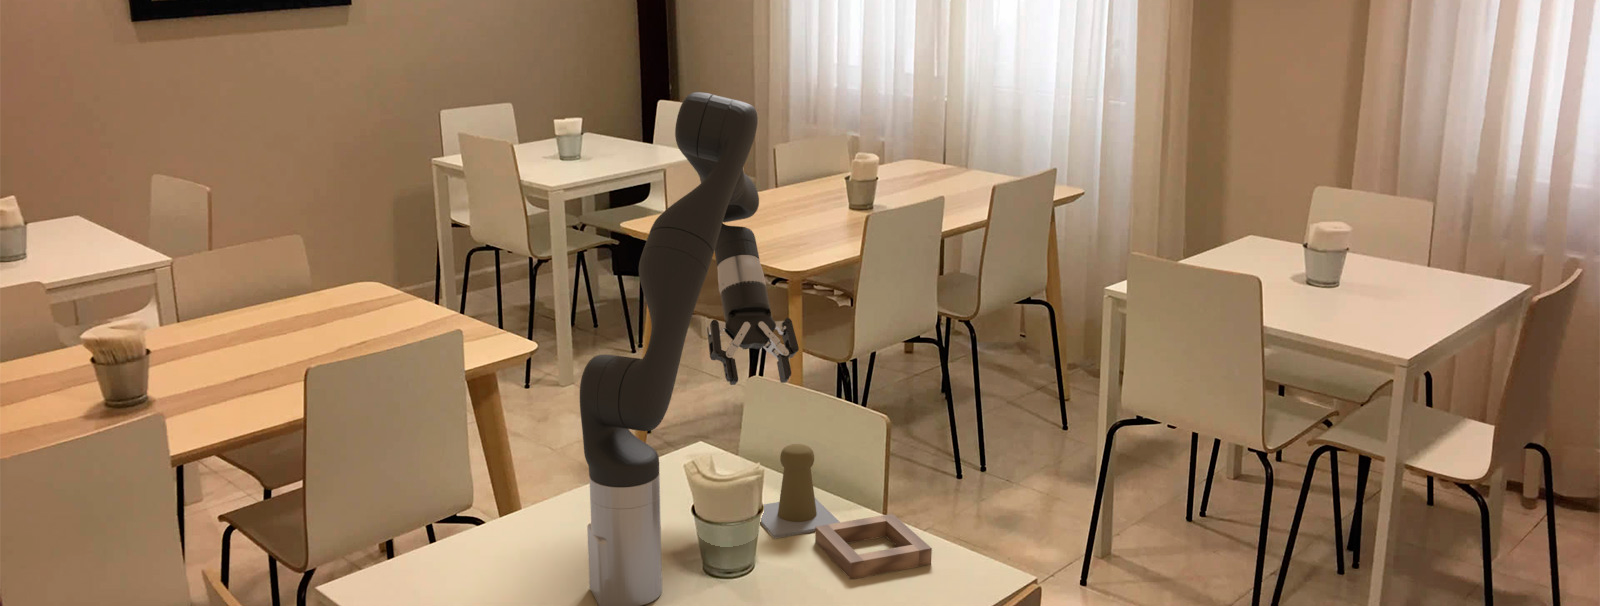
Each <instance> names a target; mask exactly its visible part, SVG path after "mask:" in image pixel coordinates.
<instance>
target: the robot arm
mask: <svg viewBox="0 0 1600 606" xmlns="http://www.w3.org/2000/svg"><path fill="white" fill-rule="evenodd" d="M677 113H678V114H677V117H676V121H675V129H674V130H675V131H674V136H675V143H676V146H677V147H678V150H679V151H680V152H681V154H682V155H683V156H684V157H685V158H686V160H687V161H688V163H689V164H690V165H691V166H692V168H693V169H694V170H695V171H696V173H697V174H698V177H699V180H700V184H698V185H697V186H696V187H695V188H693V190H691V191H690V192H688V193H687V194H685V195H684V196H682V197H681V198H679V199H678V200H677V201H676V202H674V203H673V204H671V205H670V206H669V207H668V208H666V209H665V210H664V211H663V212H662V213H661V214H660V215H659V216H658V217H657V218H656V219H655V220H654V222H653V224H652V226H651V228H650V231H649V233H648V235H647V239H646V242H645V245H644V247H643V250H642V252H641V255H640V259H639V263H638V276H639V281H640V286H641V288H642V289H641V290H642V293H643V296H644V299H645V302H646V305H647V309H648V313H649V316H650V323H651V324H650V326H651V329H650V330H651V331H650V337H649V341H648V346H647V349H646V352H645V354H644V356H643V357H642V358H638V357H630V356H622V355H614V354H607V353H606V354H598V355H596V356H593V357H592V358H591V359H590V360H588V363H586V366H585V367H584V370H583V372H582V375H581V378H580V383H579V384H580V385H579V411H580V420H581V430H582V431H581V432H582V442H583V452H584V458H585V461H586V463H587V465H588V476H589V497H590V499H589V500H590V502H589V504H590V523H588V524H587V526H586V527H587V548H588V549H587V550H588V551H587V553H588V554H587V555H588V575H589V577H588V578H589V581H588V582H589V589H590V591H591V593H592V595H593V596H594V599H595V601H596V603H597V605H598V606H644V605H648V604H650V603H652V602H654V601H655V600H657V599H658V598H659V597H660V596H661V594H662V590H663V573H662V571H663V569H662V530H661V529H662V527H661V526H662V525H661V524H662V523H661V520H662V519H661V486H660V485H661V479H660V474H661V473H660V459H659V458H660V457H659V454H658V452H657V450H655V448H654V447H652V445H649V444H648V443H646V442H644V441H643V440H641V438H638V436H636V435H635V434H633V433H632V432H631V430H632V431H640V432H651V431H653V430H655V429H656V428H657V427H658V426H659V425H661V423H662V421H663V419H664V418H665V416H666V415H667V411H668V408H669V406H670V403H671V400H672V395H673V392H674V389H675V386H676V385H675V384H676V379H677V374H678V370H679V367H680V363H681V358H682V356H683V355H682V354H683V349H684V345H685V342H686V337H687V335H688V330H689V327H690V325H691V321H692V317H693V314H694V311H695V309H696V305H697V302H698V299H699V296H700V294H701V291H702V287H703V285H704V283H705V280H706V277H707V275H708V272H709V269H710V266H711V264H712V260H713V256H715V261H716V268H717V281H718V283H717V284H718V291H719V294H720V300H721V304H722V311H723V317H724V321H725V322H719V321H718V320H717V319H713V320H711V321H710V323H709V325H708V326H707V327H706V331H707V332H706V333H707V341H708V342H707V343H708V348H709V349H708V350H709V358H710V360H712V361H719V362H721V363H722V365H723V369H724V370H723V371H724V372H723V373H724V376H725V379H726V382H729V385H730V386H735V385H736V384H738V381H739V376H738V375H739V374H738V370H737V369H738V368H737V364H736V363H737V362H736V358H734V357H733V356H734V355H735V353H736V352H737V350H738V349H739V348H740V349H741V348H742V350H748V349H749V350H750V349H755V350H761V349H762V348H763V349H764V350H765V351H766V352H767V353H769V354H771V355H773V357H774V358H775V359H776V360H777V361H776V364H777V365H776V366H777V370H778V376H779V381H780V383H781V384H784V383H785V384H786V383H787V382H788V380H789V379H790V377H791V376H792V368H791V364H790V359H791V358H793V357H794V356H795V355H796V353H798V352H799V350H800V349H799V348H800V347H799V345H798V340H797V336H796V333H795V328H794V325H793V322H792V321H793V320H792V319H791V318H790V317H787V318H785V319H784V320H777V321H776V320H774V319H773V317H772V310H771V304H770V300H769V295H768V289H767V283H766V279H765V274H764V270H763V267H762V264H761V260H760V255H759V250H758V245H757V240H756V235H755V233H754V231H752V229H750V228H748V227H745V226H739V225H738V226H737V225H728V224H725V223H729V222H735V221H741V220H746V219H749V218H751V217H753V216H754V215H755V214H756V213H757V211H758V208H759V206H760V197H759V196H760V195H759V191H758V189H757V186H756V185H755V184H754V182H753V180H752V178H750V177H749V176H748V175H747V174H746V173H745V171H744V166H745V164H746V162H747V159H748V158H749V157H748V156H749V155H750V151H751V148H752V146H753V145H754V144H753V143H754V141H755V137H756V133H757V130H758V129H757V128H758V119H759V117H758V112H757V110H756V108H755V106H753V105H751V104H749V103H747V102H744V101H742V100H739V99H738V100H737V99H733V98H729V97H725V96H720V95H716V94H712V93H708V92H700V91H695V92H691V93H689V94H687V96H686V97H685V98H684V100H683V101H682V102H681V105H680V107H679V111H678V112H677ZM775 330H777V332H778V334H779V335H781V338H782V341H783V343H782V342H781V339H780V338H779V337H778V336H777V335H776V334H775ZM723 331H724V332H723ZM723 333H725V334H726V335H728V337H729V338H730V339H731V341H730V343H729V345H728V346H727V348H726V350H724V349H722V341H721V336H722V335H723Z"/></svg>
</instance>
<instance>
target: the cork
mask: <svg viewBox="0 0 1600 606" xmlns="http://www.w3.org/2000/svg"><path fill="white" fill-rule="evenodd" d="M813 450H814V449H812V447H810V446H809V445H807V444H803V443H802V444H801V443H793V444H789V445H786V446H784V447H783V449H782V450H781V453H780V455H779V456H780V463H781V466H782V467H783V472H782V473H783V475H782V481H781V489H780V495H779V501H778V502H779V509H778V516H779V517H780V518H781V519H783V520H786V521H791V522H804V521H808V520H811V519H813V518H815V517H816V515H817V511H816V504H815V498H816V497H815V492H814V491H815V489H814V483H813V476H812V467H813V465H814V462H815V452H814V451H813Z"/></svg>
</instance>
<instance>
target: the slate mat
mask: <svg viewBox="0 0 1600 606" xmlns="http://www.w3.org/2000/svg"><path fill="white" fill-rule="evenodd" d="M815 504H816V511H817V515H816V517H815V518H813V519H811V520H808V521H804V522H791V521H786V520H783V519H781V518H780V517H779V516H778V509H779V501H776V502H770V503H764V504H762V505H764V513H763V515H762V518H761V523H760V525H762V526H763V528H764V529H765V530H766V531H767V533H769V534H770V536H772V538H773V539H779V538H784V537H785V538H786V537H790V536H791V537H792V536H797V535H801V534H802V535H803V534H808V533H813V532H814V533H815V527H816V526H822V525H828V524H834V523H840V522H841V521H840V520H838V518H837V517H836V516H835V515H834V514H832V513H831V512H830V510H828V508H826V507H825V506H824V505H823V504H822V503H821V502H820V501H819V500H818V499H817V498H816V497H815Z"/></svg>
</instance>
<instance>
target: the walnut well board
mask: <svg viewBox="0 0 1600 606" xmlns="http://www.w3.org/2000/svg"><path fill="white" fill-rule="evenodd" d="M839 522H840V523H834V524H828V525H822V526H816V527H815V532H814V533H815V535H814V537H815V538H814V541H815V544H816V545H817V546H818V547H819V548H820V549H821V550H822V551H823V552H824V553H825V554H826V555H827V557H829V558H830V559H831V561H832V562H833V563H835V565H836V566H837V567H838V568H840V570H841V571H842V572H843V573H844V574H845V576H847V577H848V578H849V580H853V579H854V580H855V579H860V578H865V577H870V576H875V575H881V574H886V573H891V572H898V571H901V570H902V571H903V570H907V569H913V568H918V567H924V566H928V565H932V551H933V549H932V547H931V546H930V545H929V544H928V543H927V542H925V540H923V539H922V538H921V537H920V536H919V535H918V534H916V533H915V532H914V531H913V529H911V528H910V527H909V526H907V525H906V524H905V523H904V522H903V521H901V520H900V518H898V517H897V516H896V515H895V514H894V513H888V514H882V515H877V516H870V517H864V518H858V519H852V520H847V521H846V520H845V521H839ZM884 537H886V538H887V539H888V540H889V541H890V542H892V543H893V544H894V546H896V547H893V548H887V549H882V550H876V551H870V552H864V553H863V552H862V553H857V552H856V551H855V549H853V548H852V547H851V546H850V545H849V544H850V543H856V542H861V541H866V540H867V541H869V540H872V539H878V538H884Z"/></svg>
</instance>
